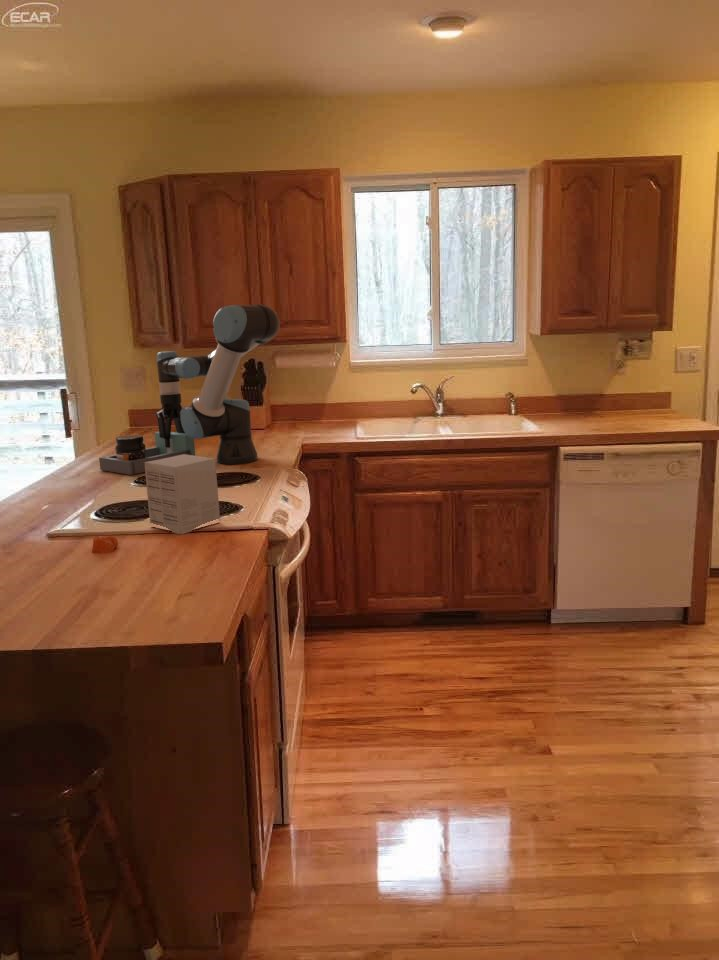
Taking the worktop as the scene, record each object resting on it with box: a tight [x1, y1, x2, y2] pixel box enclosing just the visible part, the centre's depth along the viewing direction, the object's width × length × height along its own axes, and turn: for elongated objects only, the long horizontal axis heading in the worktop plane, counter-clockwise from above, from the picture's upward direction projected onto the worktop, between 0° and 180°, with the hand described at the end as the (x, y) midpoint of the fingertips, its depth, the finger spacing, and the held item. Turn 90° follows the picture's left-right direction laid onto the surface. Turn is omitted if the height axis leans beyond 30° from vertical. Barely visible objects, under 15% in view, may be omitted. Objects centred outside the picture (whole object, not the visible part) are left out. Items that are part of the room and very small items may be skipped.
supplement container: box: [114, 434, 147, 461], centre depth 281 cm, size 10×10×12 cm
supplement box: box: [144, 454, 221, 535], centre depth 203 cm, size 13×13×18 cm
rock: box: [91, 535, 119, 554], centre depth 186 cm, size 12×12×4 cm
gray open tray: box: [98, 431, 196, 476], centre depth 287 cm, size 18×29×10 cm, turn 142°
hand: (175, 454), depth 297 cm, fingers closed on gray open tray, 4 cm apart
